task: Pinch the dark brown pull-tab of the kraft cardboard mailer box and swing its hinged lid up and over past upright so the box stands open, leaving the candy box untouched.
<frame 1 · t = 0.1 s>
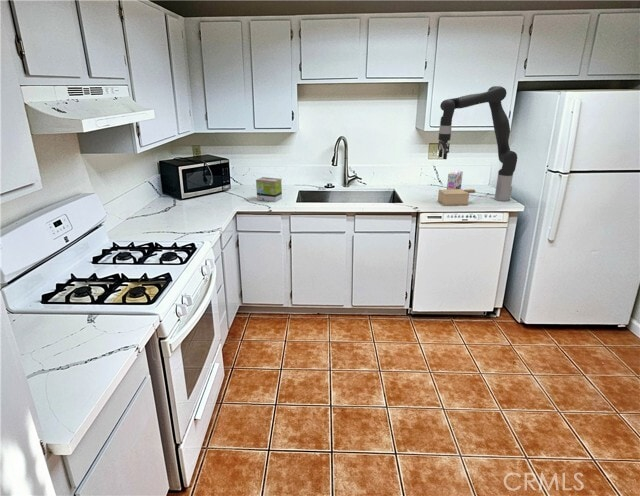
hand: (442, 158, 269), 29 cm above the countertop, tool pointing down, fingers open, 8 cm apart
lid: (458, 191, 273), point 8 cm above the countertop, hinge at 0.0°
tea box: (269, 199, 288), on the countertop
candy box: (453, 195, 296), on the countertop
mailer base: (452, 203, 275), on the countertop
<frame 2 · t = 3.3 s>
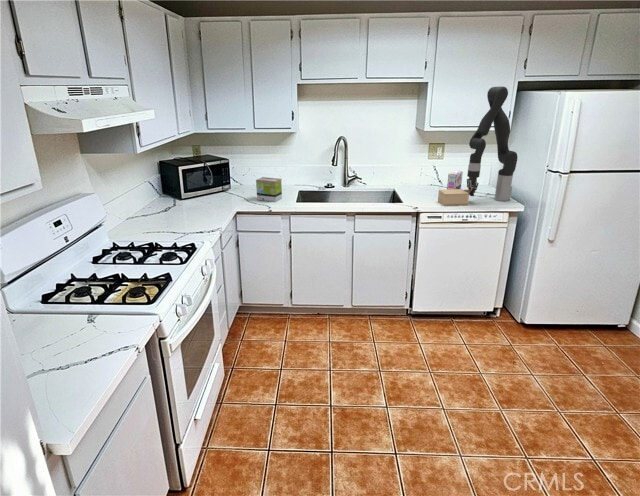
hand: (470, 195, 274), 5 cm above the countertop, tool pointing down, fingers closed on lid, 3 cm apart
lid: (458, 191, 273), point 8 cm above the countertop, hinge at 0.0°, touching gripper
everything else where it was.
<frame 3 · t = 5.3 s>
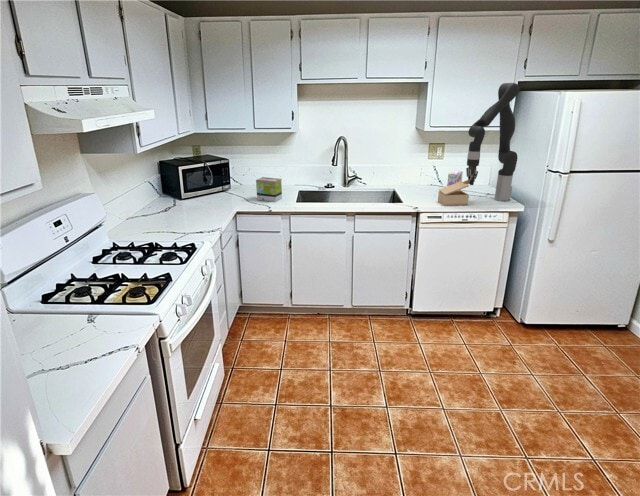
hand: (470, 184, 271), 13 cm above the countertop, tool pointing down, fingers closed on lid, 3 cm apart
lid: (457, 185, 271), point 12 cm above the countertop, hinge at 20.4°, touching gripper
everything else where it was.
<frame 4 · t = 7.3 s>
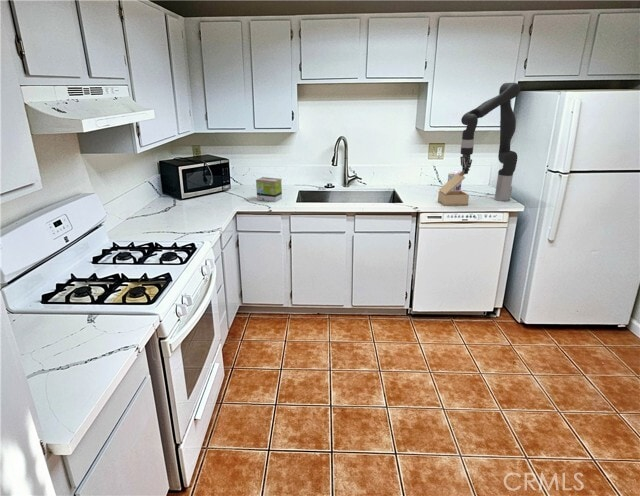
hand: (464, 173, 268), 20 cm above the countertop, tool pointing down, fingers closed on lid, 3 cm apart
lid: (454, 180, 270), point 16 cm above the countertop, hinge at 43.9°, touching gripper
everything else where it was.
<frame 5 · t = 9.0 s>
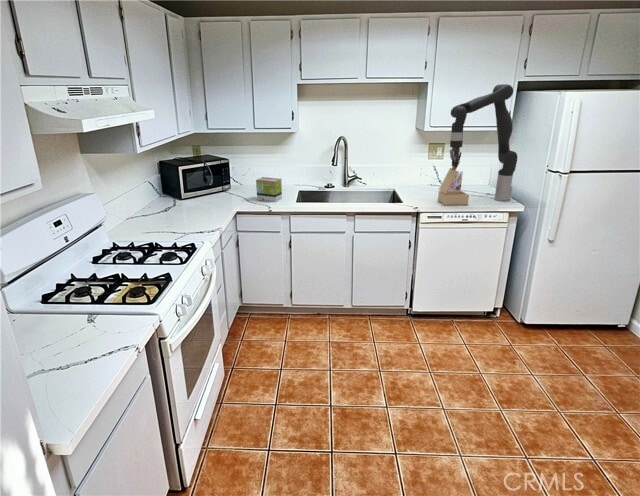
hand: (454, 166, 266), 25 cm above the countertop, tool pointing down, fingers closed on lid, 3 cm apart
lid: (449, 176, 268), point 18 cm above the countertop, hinge at 67.4°, touching gripper
everything else where it was.
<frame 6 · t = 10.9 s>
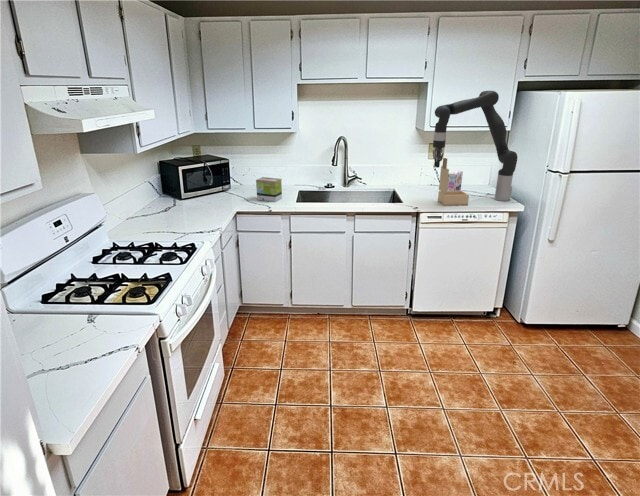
hand: (436, 166, 265), 25 cm above the countertop, tool pointing down, fingers closed
lid: (443, 175, 268), point 19 cm above the countertop, hinge at 90.4°
everything else where it was.
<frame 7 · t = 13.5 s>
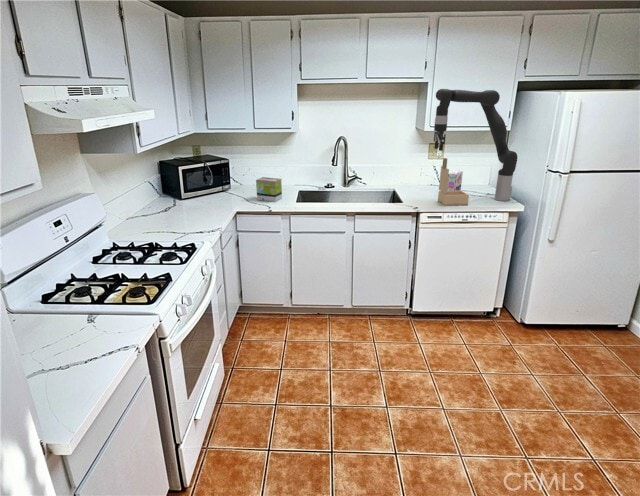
hand: (438, 149, 261), 36 cm above the countertop, tool pointing down, fingers open, 8 cm apart
nothing on the countertop moved.
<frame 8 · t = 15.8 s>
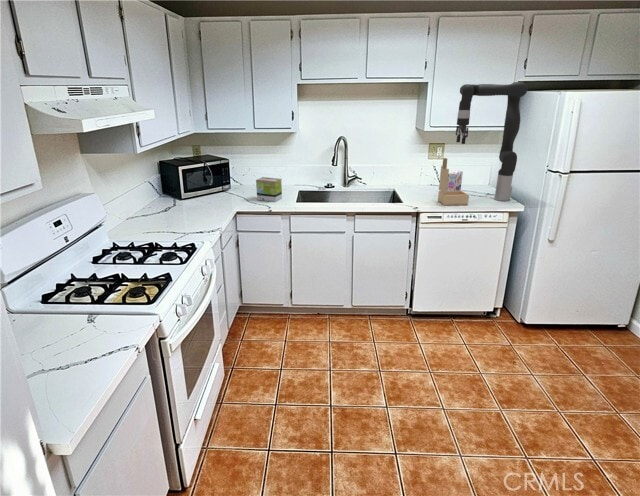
hand: (460, 143, 271), 38 cm above the countertop, tool pointing down, fingers open, 8 cm apart
nothing on the countertop moved.
at the end: lid at +90° (first picture: +0°); the gripper is holding nothing; candy box moved 0.3 cm from its start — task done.
